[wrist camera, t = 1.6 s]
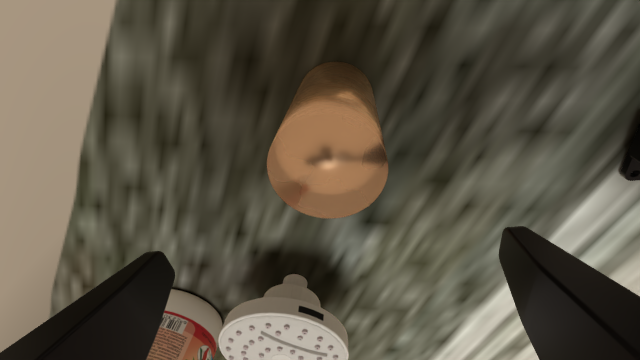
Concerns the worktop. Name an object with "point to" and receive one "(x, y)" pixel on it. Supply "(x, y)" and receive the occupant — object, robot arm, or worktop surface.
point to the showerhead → (283, 327)
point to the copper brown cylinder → (330, 145)
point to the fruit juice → (186, 329)
